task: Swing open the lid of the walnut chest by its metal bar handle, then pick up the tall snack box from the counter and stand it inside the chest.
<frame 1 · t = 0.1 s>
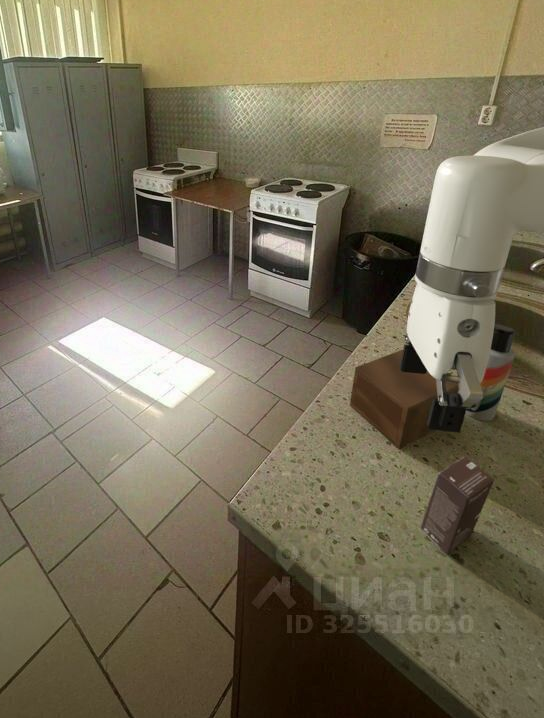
hand: (426, 397, 49), 26 cm above the counter, tool pointing down, fingers open, 9 cm apart
lotion bottle: (476, 411, 79), on the counter
box: (446, 534, 58), on the counter
chest: (397, 414, 79), on the counter
lid: (409, 367, 75), point 12 cm above the counter, hinge at 0.0°
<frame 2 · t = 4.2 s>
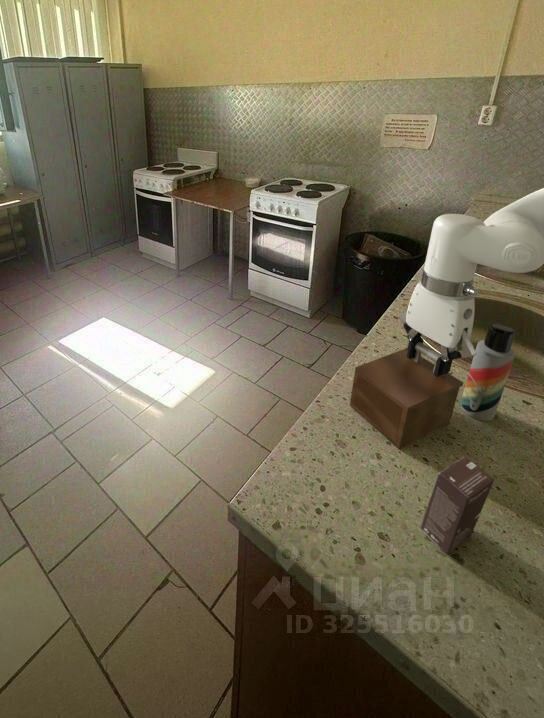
hand: (426, 364, 77), 10 cm above the counter, tool pointing down, fingers closed on lid, 5 cm apart
lid: (409, 367, 75), point 12 cm above the counter, hinge at 0.0°, touching gripper
everything else where it was.
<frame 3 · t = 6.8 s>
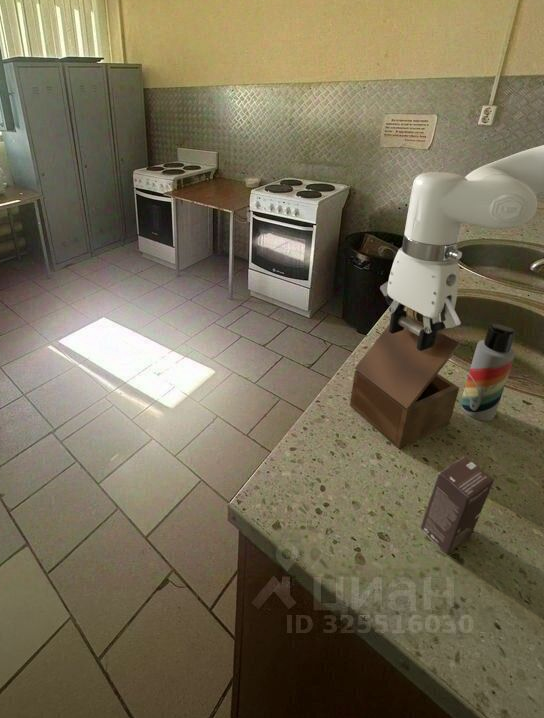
hand: (409, 338, 72), 19 cm above the counter, tool pointing down, fingers closed on lid, 5 cm apart
lid: (399, 352, 72), point 16 cm above the counter, hinge at 45.7°, touching gripper
everything else where it was.
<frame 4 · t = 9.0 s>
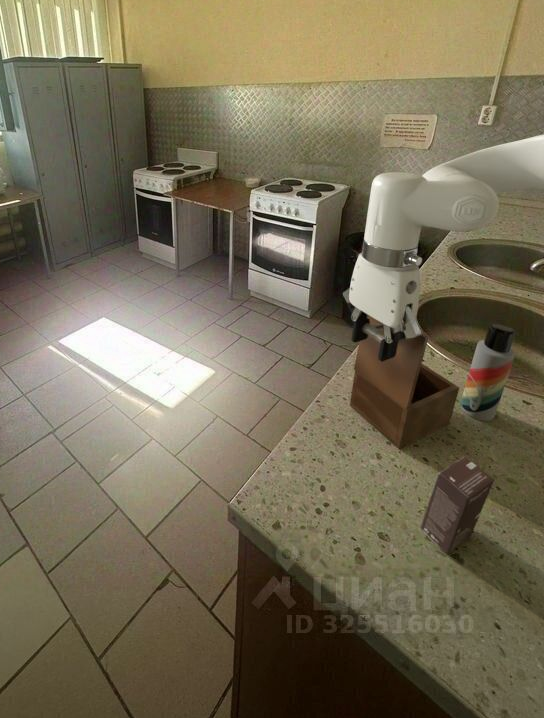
hand: (372, 347, 68), 19 cm above the counter, tool pointing down, fingers closed on lid, 5 cm apart
lid: (378, 357, 70), point 17 cm above the counter, hinge at 86.8°, touching gripper
everything else where it was.
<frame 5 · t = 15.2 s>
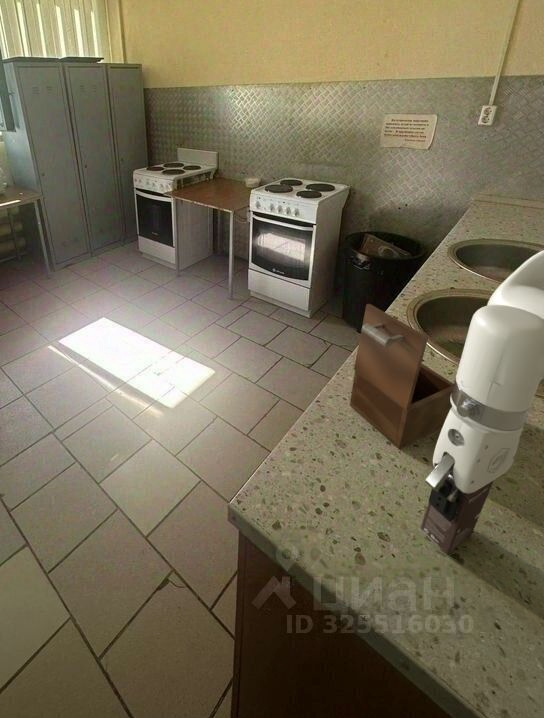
hand: (456, 500, 55), 7 cm above the counter, tool pointing down, fingers closed on box, 6 cm apart
box: (446, 534, 58), on the counter, touching gripper
lid: (378, 357, 70), point 17 cm above the counter, hinge at 87.2°
everything else where it was.
when the fingers open (8 cm above the counter, at t = 23.3 s): box stays where it is, resting on chest.
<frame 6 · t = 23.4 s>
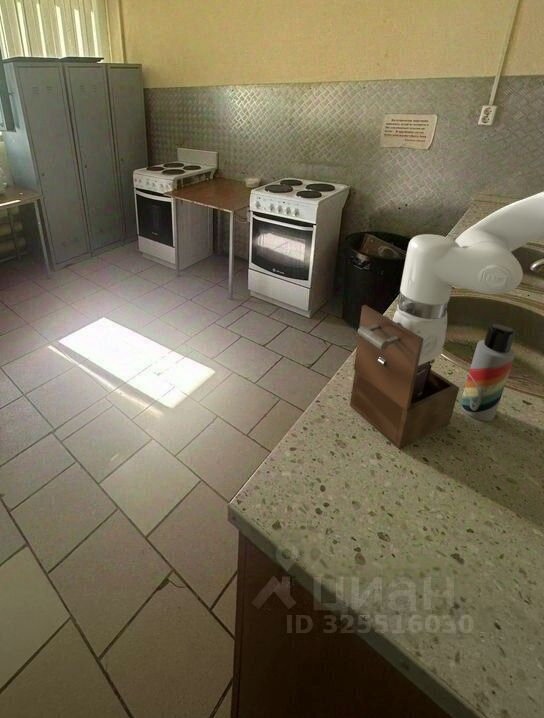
hand: (405, 382, 76), 8 cm above the counter, tool pointing down, fingers open, 7 cm apart
box: (398, 411, 79), point 1 cm above the counter, touching chest
lid: (376, 359, 70), point 17 cm above the counter, hinge at 91.6°, touching gripper
everything else where it was.
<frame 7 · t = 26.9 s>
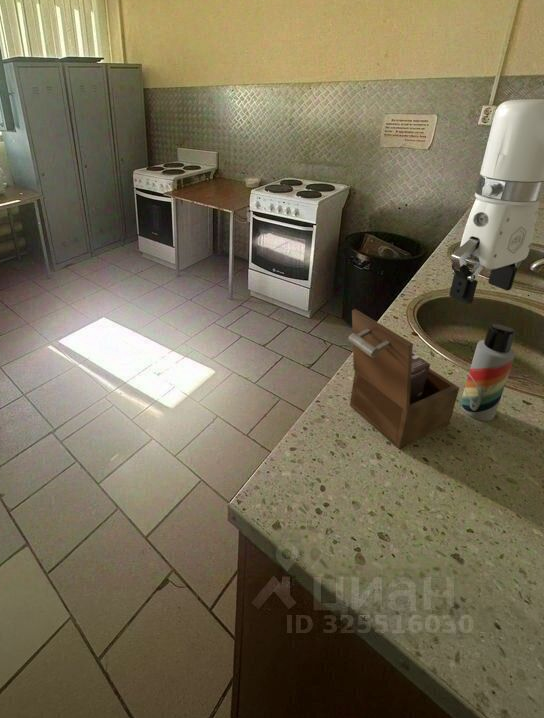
hand: (480, 293, 63), 30 cm above the counter, tool pointing down, fingers open, 9 cm apart
lid: (370, 363, 70), point 16 cm above the counter, hinge at 101.1°
everything else where it was.
at the end: lid at +101° (first picture: +0°); box inside the target area in the chest (0.1 cm from its centre), point 0.7 cm above the chest's base; box tilted 0° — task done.
